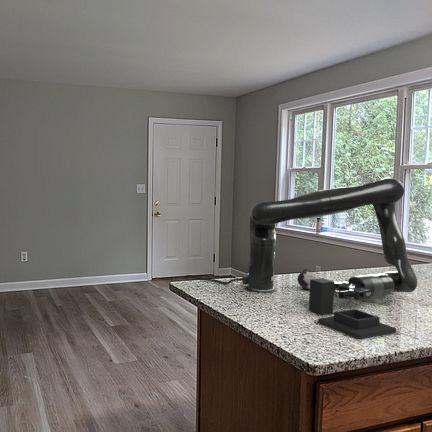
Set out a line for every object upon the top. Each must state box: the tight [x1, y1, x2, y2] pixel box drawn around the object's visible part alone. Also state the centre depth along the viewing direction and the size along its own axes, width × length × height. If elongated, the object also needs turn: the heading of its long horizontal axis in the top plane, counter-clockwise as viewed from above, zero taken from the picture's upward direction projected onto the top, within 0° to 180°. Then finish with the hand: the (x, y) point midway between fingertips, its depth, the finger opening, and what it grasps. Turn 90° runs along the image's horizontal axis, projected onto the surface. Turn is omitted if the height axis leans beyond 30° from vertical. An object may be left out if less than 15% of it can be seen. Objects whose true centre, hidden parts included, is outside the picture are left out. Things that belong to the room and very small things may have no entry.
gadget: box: [335, 279, 388, 305], centre depth 160 cm, size 23×15×4 cm, turn 143°
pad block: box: [308, 277, 335, 316], centre depth 136 cm, size 5×5×10 cm
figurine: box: [296, 268, 338, 295], centre depth 163 cm, size 10×6×15 cm
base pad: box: [317, 308, 397, 340], centre depth 122 cm, size 14×14×4 cm
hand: (328, 292), depth 137 cm, fingers open, 8 cm apart
